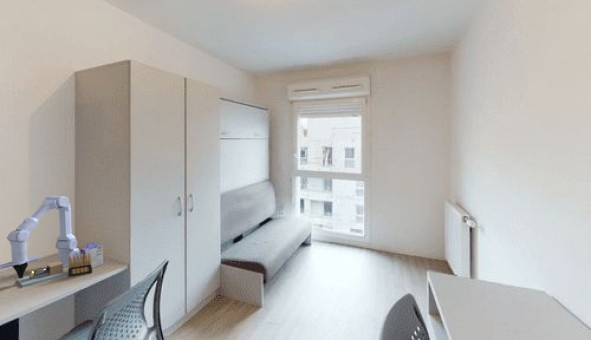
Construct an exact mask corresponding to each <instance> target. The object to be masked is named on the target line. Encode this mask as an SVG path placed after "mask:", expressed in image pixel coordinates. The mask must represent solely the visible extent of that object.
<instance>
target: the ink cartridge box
mask: <svg viewBox="0 0 591 340" xmlns="http://www.w3.org/2000/svg"><path fill="white" fill-rule="evenodd" d="M86 246H87V247H84V248H80V255H81V254H82V255H83V260H84V256H85V253H86V255H87V260H88V254H89V253H90V254H91V262H92V269H93V268H96V267H100V266H102V265H103V264H104V255H103V253H104V251H103V245H102V244H98V243H97V244H95V242H88V243H86Z"/></svg>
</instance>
